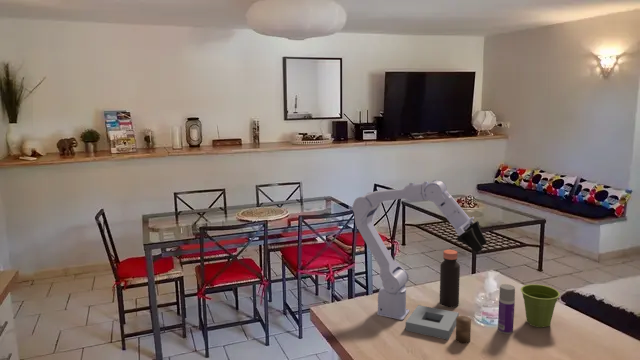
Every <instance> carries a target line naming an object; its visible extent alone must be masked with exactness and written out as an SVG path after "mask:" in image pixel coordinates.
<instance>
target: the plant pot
mask: <svg viewBox="0 0 640 360" xmlns="http://www.w3.org/2000/svg"><path fill="white" fill-rule="evenodd" d="M520 292H521V293H522V298H523V302H524V303H523V304H524V310H525V318H526V322H527V323H529V325H530V326H532V327H535V328H544V327H547V328H548V327H550V325H551V322H552V319H553V314H554V310H555V306H556V304H557V303H558V298H560V297H561V296H560V295H561V292H559V291H558V289H556V288H553V286H552V287H551V286H549V285H548V286H547V285H543V284H538V283H536V284H534V283H533V284H531V283H530V284H525V285H522V286H521V287H520Z"/></svg>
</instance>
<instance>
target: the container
mask: <svg viewBox="0 0 640 360" xmlns="http://www.w3.org/2000/svg"><path fill="white" fill-rule="evenodd" d="M515 299H516V287H515V285H512V284H507V283H505V284H500V286H499V297H498V314H497V315H498V318H497V331H498V332H499V333H501V334H505V335H511V334H513V332H514V319H515V318H514V317H515V305H516V304H515V303H516V302H515Z"/></svg>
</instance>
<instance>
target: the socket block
mask: <svg viewBox="0 0 640 360" xmlns="http://www.w3.org/2000/svg"><path fill="white" fill-rule="evenodd" d="M458 316H460V313H459V312H457V311H451V310H445V309H441V308H435V307H431V306H425V305H421V304H420V305H419V304H418V305H417V306H416V307H415V309H414V310H413V312H412V313H411V314H410V315H409V317H407V320H406V321H405V332H410V333H417V334H419V335H423V336H428V337H429V336H430V337H434V338H439V339H444V340H448V341H449V340H450V338H451V336H452V334H453V332H454V331H455V330H456V318H457V317H458Z"/></svg>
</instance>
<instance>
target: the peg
mask: <svg viewBox="0 0 640 360" xmlns="http://www.w3.org/2000/svg"><path fill="white" fill-rule="evenodd" d="M471 328H472V319H471V317H468V316H465V315H459V316H458V317H457V318H456V327H455V341H456V342H458V343H459V344H469V343H470V342H471V335H472V334H471V330H472V329H471Z"/></svg>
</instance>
